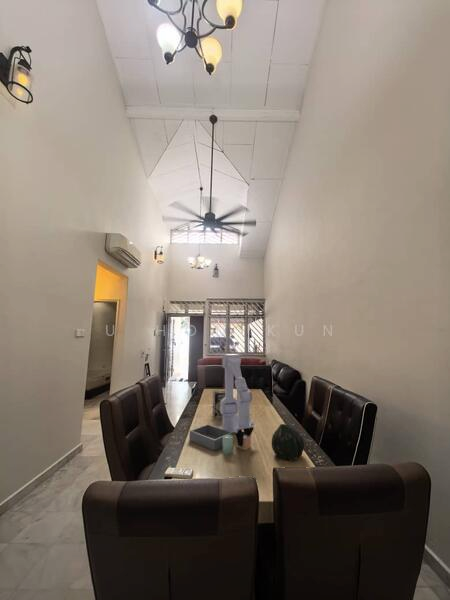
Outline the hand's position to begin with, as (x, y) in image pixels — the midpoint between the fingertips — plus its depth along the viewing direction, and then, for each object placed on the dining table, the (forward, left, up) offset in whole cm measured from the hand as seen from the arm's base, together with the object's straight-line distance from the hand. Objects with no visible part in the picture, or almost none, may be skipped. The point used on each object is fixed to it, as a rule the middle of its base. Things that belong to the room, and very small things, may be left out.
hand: (243, 443), depth 130 cm
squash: (-6, +21, -2) cm, 22 cm away
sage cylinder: (+10, -2, -2) cm, 10 cm away
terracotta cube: (0, 0, -1) cm, 1 cm away
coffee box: (-26, -39, -2) cm, 47 cm away
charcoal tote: (+7, -16, -1) cm, 18 cm away
